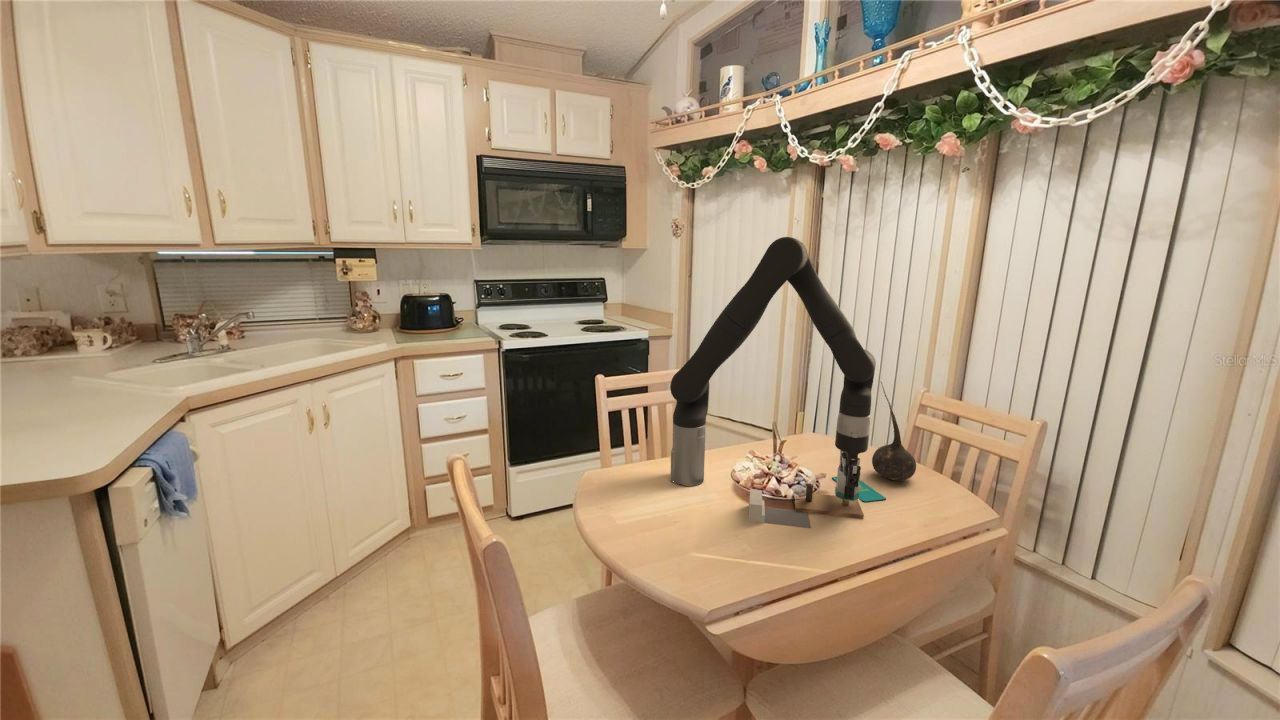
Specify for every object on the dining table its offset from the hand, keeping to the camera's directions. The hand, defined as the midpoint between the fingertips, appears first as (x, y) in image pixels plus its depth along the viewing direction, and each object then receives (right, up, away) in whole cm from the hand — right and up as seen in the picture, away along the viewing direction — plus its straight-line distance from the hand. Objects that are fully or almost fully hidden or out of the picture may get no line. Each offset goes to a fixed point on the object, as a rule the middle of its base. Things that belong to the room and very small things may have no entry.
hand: (846, 493), depth 129 cm
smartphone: (+8, -3, +13) cm, 15 cm away
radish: (+20, -1, +19) cm, 28 cm away
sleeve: (0, -1, 0) cm, 1 cm away
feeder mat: (-18, -5, -3) cm, 19 cm away
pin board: (-4, -4, +2) cm, 6 cm away
